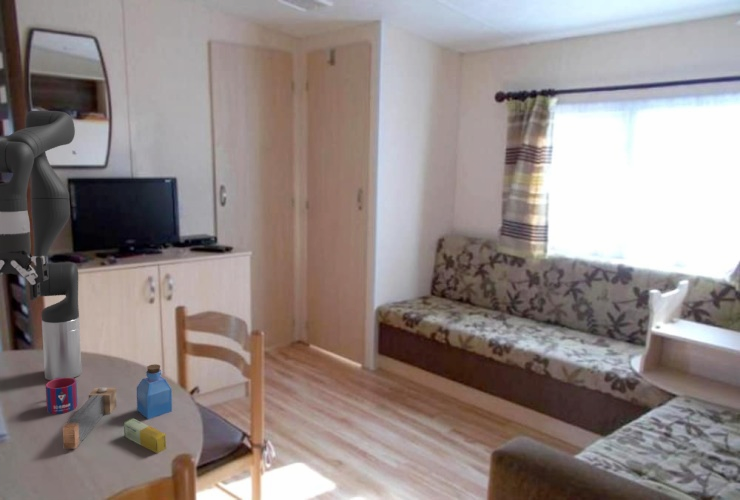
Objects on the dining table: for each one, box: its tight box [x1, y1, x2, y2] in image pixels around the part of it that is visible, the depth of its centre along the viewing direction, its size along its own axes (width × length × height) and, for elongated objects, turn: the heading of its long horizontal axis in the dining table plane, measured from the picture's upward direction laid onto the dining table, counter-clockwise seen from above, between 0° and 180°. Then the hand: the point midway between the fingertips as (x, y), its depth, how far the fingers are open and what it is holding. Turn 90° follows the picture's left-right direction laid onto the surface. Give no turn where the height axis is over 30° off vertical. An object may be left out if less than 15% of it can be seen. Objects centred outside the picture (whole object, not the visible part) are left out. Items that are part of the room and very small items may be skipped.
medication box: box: [123, 417, 167, 454], centre depth 119 cm, size 12×3×4 cm, turn 59°
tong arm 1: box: [62, 395, 98, 450], centre depth 122 cm, size 16×1×5 cm, turn 7°
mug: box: [45, 377, 78, 415], centre depth 134 cm, size 7×10×7 cm
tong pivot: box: [88, 387, 117, 415], centre depth 132 cm, size 4×5×6 cm
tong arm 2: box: [69, 395, 105, 450], centre depth 122 cm, size 16×1×5 cm, turn 6°
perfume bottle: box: [136, 363, 173, 420], centre depth 133 cm, size 6×6×12 cm
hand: (14, 298), depth 122 cm, fingers open, 8 cm apart
